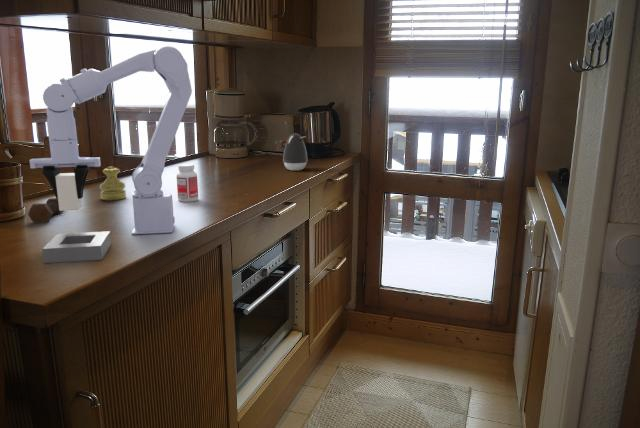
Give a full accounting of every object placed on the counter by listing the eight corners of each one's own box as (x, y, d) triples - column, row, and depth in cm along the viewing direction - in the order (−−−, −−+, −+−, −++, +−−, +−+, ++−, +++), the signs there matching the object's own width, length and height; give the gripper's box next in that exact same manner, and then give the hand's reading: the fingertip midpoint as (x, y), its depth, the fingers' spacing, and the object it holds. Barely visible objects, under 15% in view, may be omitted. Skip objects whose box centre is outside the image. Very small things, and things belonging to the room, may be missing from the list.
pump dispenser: (300, 172, 215) (300, 134, 211) (278, 170, 219) (278, 133, 215) (312, 169, 224) (312, 132, 220) (290, 167, 228) (290, 131, 224)
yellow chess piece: (97, 198, 166) (93, 166, 163) (119, 194, 171) (117, 164, 168) (107, 202, 161) (104, 169, 158) (130, 198, 166) (127, 166, 163)
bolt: (64, 216, 152) (43, 228, 137) (47, 207, 151) (24, 219, 136) (73, 198, 151) (53, 209, 136) (56, 190, 150) (34, 199, 135)
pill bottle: (198, 197, 167) (196, 163, 165) (198, 201, 162) (196, 166, 159) (177, 198, 166) (175, 163, 163) (177, 202, 160) (175, 166, 157)
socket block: (111, 244, 119) (110, 231, 119) (101, 259, 109) (100, 245, 108) (58, 246, 117) (57, 233, 116) (44, 263, 107) (42, 248, 106)
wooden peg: (82, 206, 125) (78, 172, 123) (78, 210, 121) (74, 175, 119) (63, 206, 124) (60, 173, 122) (59, 210, 121) (55, 176, 119)
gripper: (100, 136, 124) (106, 193, 128) (33, 137, 121) (41, 195, 125) (94, 140, 118) (100, 199, 121) (23, 141, 115) (31, 202, 118)
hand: (69, 198), depth 122 cm, fingers closed on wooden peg, 4 cm apart
